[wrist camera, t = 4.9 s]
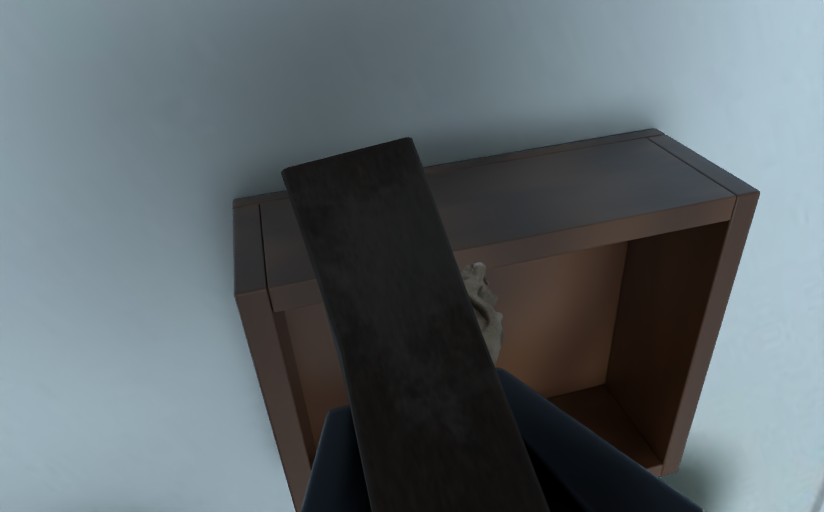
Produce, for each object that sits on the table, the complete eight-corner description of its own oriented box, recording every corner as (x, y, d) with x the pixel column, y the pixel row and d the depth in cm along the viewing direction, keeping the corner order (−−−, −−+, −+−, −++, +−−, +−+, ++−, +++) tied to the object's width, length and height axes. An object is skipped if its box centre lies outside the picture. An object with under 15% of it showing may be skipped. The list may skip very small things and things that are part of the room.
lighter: (439, 341, 13) (526, 597, 11) (350, 368, 13) (422, 635, 11) (476, 118, 6) (742, 740, 4) (272, 171, 6) (447, 861, 4)
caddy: (299, 460, 25) (313, 576, 21) (231, 198, 18) (233, 294, 14) (611, 383, 28) (678, 472, 24) (656, 127, 21) (762, 190, 17)
